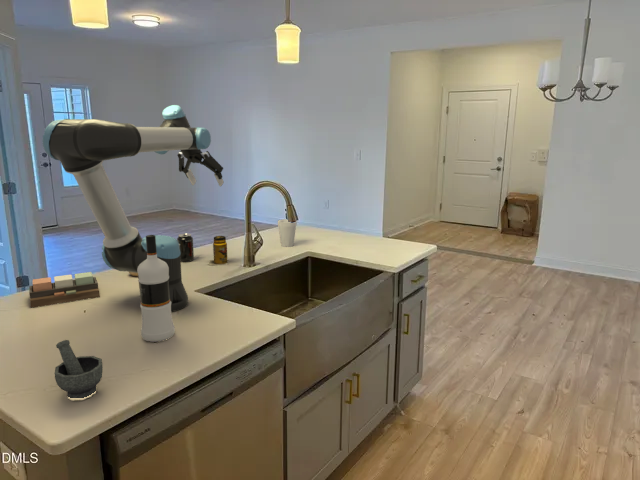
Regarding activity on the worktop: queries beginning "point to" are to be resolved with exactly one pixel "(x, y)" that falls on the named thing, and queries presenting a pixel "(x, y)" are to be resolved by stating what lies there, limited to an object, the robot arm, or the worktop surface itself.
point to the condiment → (219, 251)
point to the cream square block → (63, 281)
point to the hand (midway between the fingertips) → (207, 183)
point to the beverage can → (186, 247)
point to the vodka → (155, 296)
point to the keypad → (63, 294)
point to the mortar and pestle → (77, 372)
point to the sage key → (84, 278)
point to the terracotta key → (42, 284)
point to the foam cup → (286, 232)
